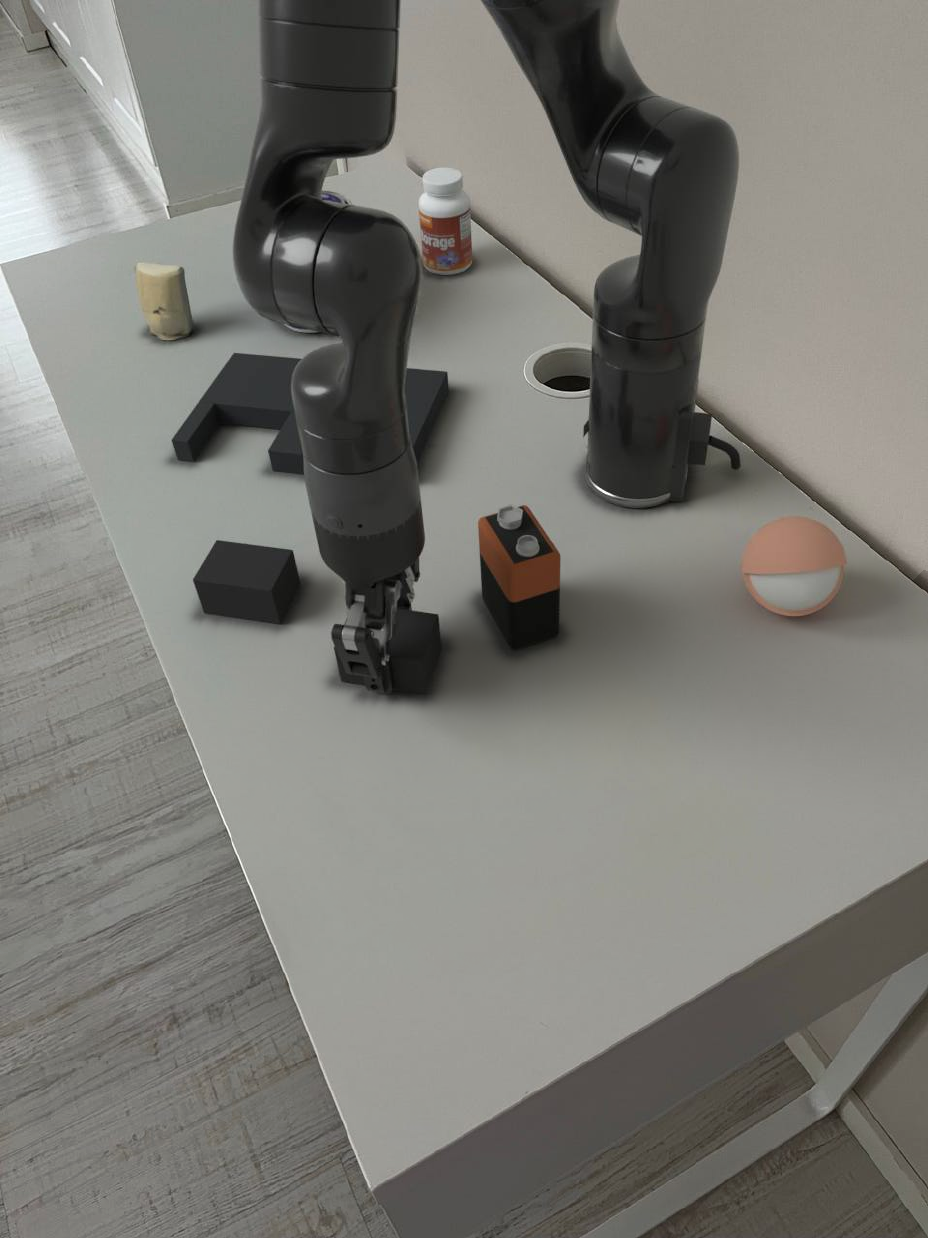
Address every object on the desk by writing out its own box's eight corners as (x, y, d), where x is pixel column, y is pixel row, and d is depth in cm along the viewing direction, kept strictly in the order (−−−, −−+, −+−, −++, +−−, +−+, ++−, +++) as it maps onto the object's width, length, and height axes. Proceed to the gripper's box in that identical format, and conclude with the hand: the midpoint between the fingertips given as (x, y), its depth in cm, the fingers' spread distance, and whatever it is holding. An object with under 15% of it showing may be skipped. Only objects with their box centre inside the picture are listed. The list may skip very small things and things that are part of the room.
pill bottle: (414, 271, 127) (405, 181, 119) (438, 249, 130) (431, 161, 122) (458, 280, 124) (453, 190, 116) (481, 257, 128) (477, 168, 120)
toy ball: (748, 639, 82) (764, 566, 76) (724, 572, 87) (737, 500, 81) (848, 630, 82) (871, 557, 76) (818, 564, 87) (837, 491, 81)
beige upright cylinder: (194, 315, 122) (177, 251, 116) (203, 335, 119) (186, 271, 113) (146, 326, 121) (127, 262, 115) (154, 347, 117) (134, 283, 112)
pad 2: (442, 648, 83) (438, 613, 80) (426, 695, 79) (421, 660, 77) (360, 636, 84) (353, 602, 81) (340, 681, 81) (333, 647, 78)
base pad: (449, 391, 108) (447, 371, 106) (407, 486, 97) (405, 465, 96) (238, 372, 113) (233, 352, 111) (177, 460, 102) (170, 439, 100)
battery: (527, 583, 87) (526, 492, 80) (561, 637, 83) (563, 545, 76) (480, 598, 86) (474, 507, 79) (511, 653, 82) (509, 562, 75)
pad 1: (301, 583, 89) (293, 549, 86) (280, 624, 86) (271, 590, 83) (226, 573, 90) (216, 539, 87) (203, 613, 87) (192, 579, 84)
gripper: (387, 575, 64) (411, 740, 76) (444, 438, 73) (458, 605, 86) (274, 560, 65) (316, 724, 78) (345, 428, 75) (373, 593, 87)
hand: (391, 661), depth 81 cm, fingers closed on pad 2, 5 cm apart
